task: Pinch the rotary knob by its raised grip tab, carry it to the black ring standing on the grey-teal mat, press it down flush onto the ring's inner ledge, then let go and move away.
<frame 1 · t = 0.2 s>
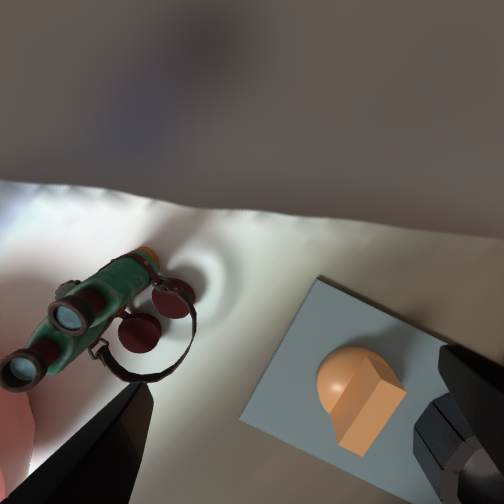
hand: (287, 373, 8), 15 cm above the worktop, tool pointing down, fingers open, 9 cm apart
black ring: (474, 439, 24), resting on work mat
binoculars: (156, 302, 24), on the worktop
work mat: (400, 412, 24), on the worktop
rotary knob: (352, 379, 24), resting on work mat
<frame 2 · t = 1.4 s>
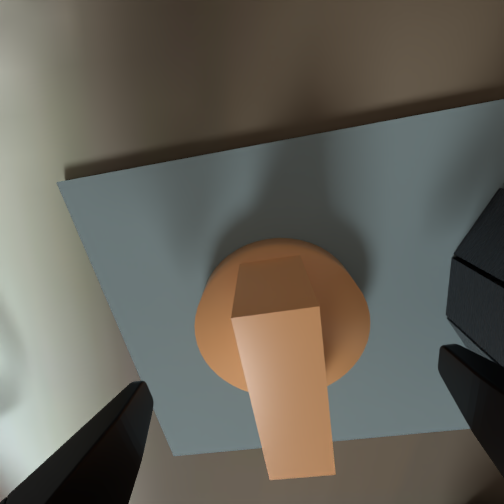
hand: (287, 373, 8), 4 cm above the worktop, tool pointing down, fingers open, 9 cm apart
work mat: (408, 307, 12), on the worktop
rotary knob: (278, 310, 11), resting on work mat
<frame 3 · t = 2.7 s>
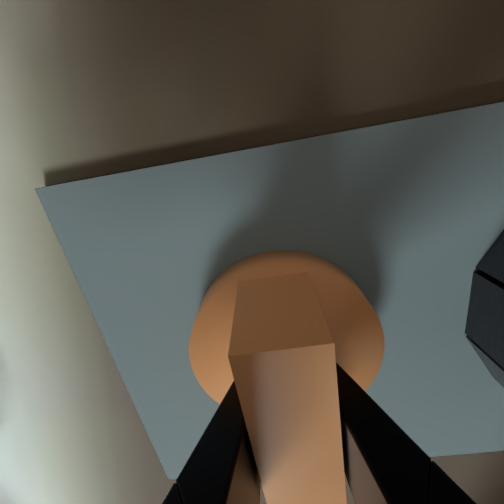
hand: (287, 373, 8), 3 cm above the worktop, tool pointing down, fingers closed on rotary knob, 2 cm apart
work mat: (423, 324, 11), on the worktop
rotary knob: (281, 328, 10), resting on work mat, touching gripper
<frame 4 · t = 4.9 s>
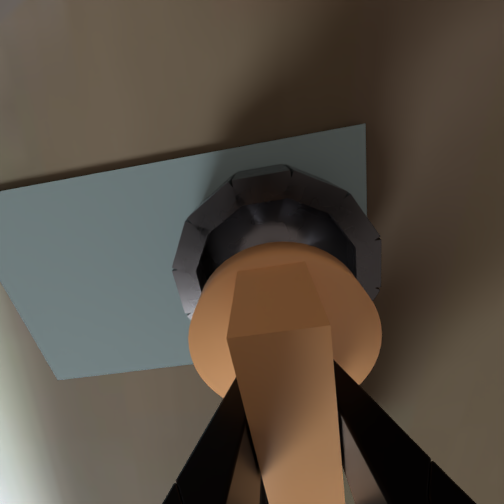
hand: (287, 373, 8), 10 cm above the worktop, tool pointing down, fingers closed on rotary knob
black ring: (272, 250, 17), resting on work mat
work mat: (181, 275, 19), on the worktop
rotary knob: (280, 319, 10), point 8 cm above the worktop, touching gripper
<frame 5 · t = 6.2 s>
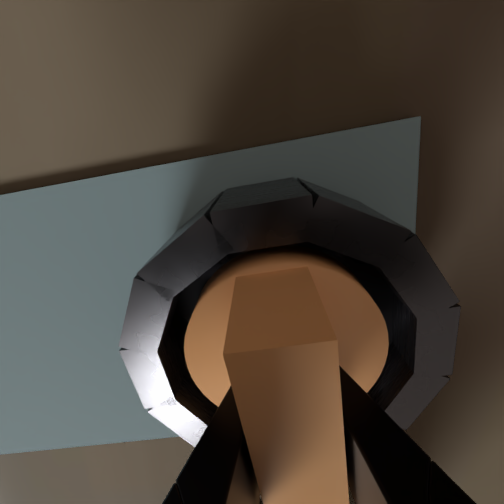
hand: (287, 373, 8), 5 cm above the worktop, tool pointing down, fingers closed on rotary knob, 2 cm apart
black ring: (277, 297, 12), resting on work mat
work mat: (152, 328, 14), on the worktop
rotary knob: (281, 326, 10), point 3 cm above the worktop, touching gripper, black ring
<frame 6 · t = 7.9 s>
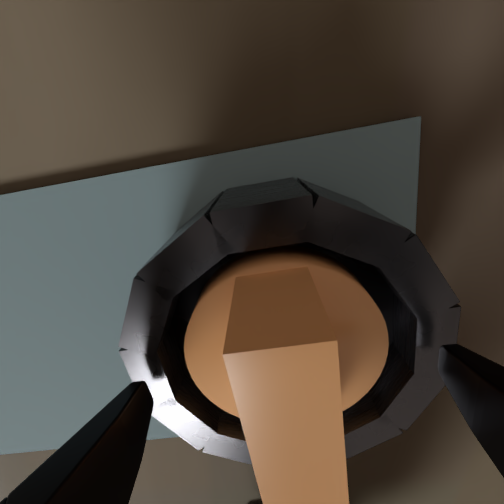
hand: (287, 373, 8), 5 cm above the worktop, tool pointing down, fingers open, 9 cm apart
black ring: (277, 297, 12), resting on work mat
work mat: (152, 328, 14), on the worktop
rotary knob: (281, 326, 10), point 3 cm above the worktop, touching black ring
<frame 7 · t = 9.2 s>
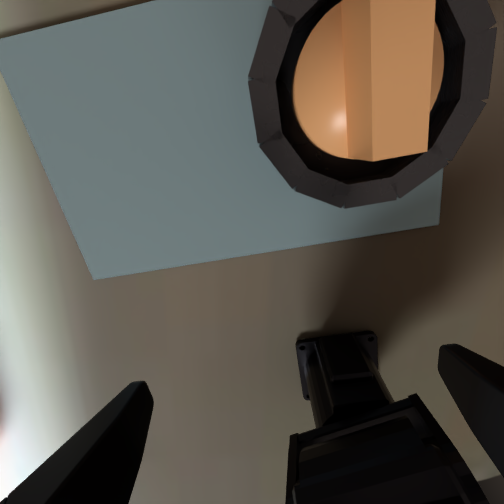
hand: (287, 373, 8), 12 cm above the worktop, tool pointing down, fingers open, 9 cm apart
black ring: (342, 102, 16), resting on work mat
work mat: (236, 142, 17), on the worktop
rotary knob: (356, 89, 13), point 3 cm above the worktop, touching black ring
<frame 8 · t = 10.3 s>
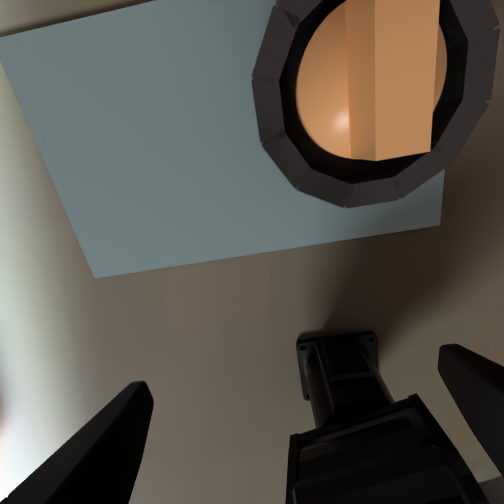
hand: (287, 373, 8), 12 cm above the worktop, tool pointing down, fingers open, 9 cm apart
black ring: (344, 102, 16), resting on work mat
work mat: (238, 141, 17), on the worktop
rotary knob: (359, 89, 13), point 3 cm above the worktop, touching black ring
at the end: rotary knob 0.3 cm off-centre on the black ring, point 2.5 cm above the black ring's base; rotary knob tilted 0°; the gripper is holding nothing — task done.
